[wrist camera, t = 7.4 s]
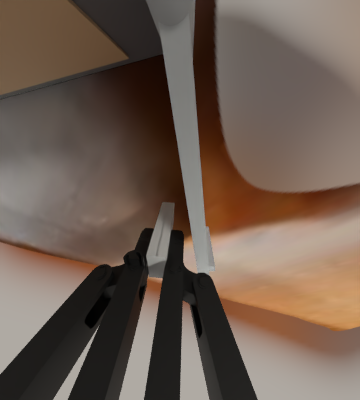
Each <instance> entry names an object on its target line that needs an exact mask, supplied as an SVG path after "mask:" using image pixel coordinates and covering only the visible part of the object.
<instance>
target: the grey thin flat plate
mask: <svg viewBox="0 0 360 400" xmlns="http://www.w3.org/2000/svg"><path fill="white" fill-rule="evenodd" d="M146 2H147V4H148V7H149V10H150V12H151V15H152V17H153V20H154V23H155V25H156V28H157V30H158V33H159V36H160V38H161V42H162V49H163V55H164V61H165V68H166V74H167V80H168V87H169V93H170V100H171V106H172V112H173V119H174V125H175V131H176V138H177V144H178V150H179V157H180V163H181V169H182V176H183V182H184V188H185V195H186V201H187V207H188V214H189V220H190V227H191V233H192V239H193V246H194V252H195V258H196V265H197V271H198V273H200V272H201V273H206V274H208V275H209V271H215V264H214V258H213V252H212V245H211V239H210V233H209V227H205V214H204V201H203V189H202V176H201V163H200V150H199V137H198V124H197V111H196V98H195V85H194V72H193V45H194V21H195V0H146Z"/></svg>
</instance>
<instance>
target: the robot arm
mask: <svg viewBox="0 0 360 400" xmlns="http://www.w3.org/2000/svg"><path fill="white" fill-rule="evenodd" d="M174 207H175V203H170V202H162V205H161V208H160V211H159V215H158V218H157V221H156V225H155V228H154V229H152V228H145V229H144V230H143V231H142V232H141V235H140V238H139V240H138V242H137V245H136V247H135V250H132V251H130V252H128V253H127V254H126V255H125V256H124V257H123V259H124V262H125V264H123V265H120V266H115V267H111V266H109V265H107V264H103V265H100V266H98V267H96V268H95V269H94V270H93V271H92V272H91V273H90V274H89V275H88V276H87V278H86V279H85V280H84V281H83V282H82V283H81V284H80V285H79V287H78V288H77V289H76V290H75V291H74V292H73V293H72V294H71V295H70V297H69V298H68V299H67V300H66V301H65V302H64V303H63V304H62V306H61V307H60V308H59V309H58V310H57V311H56V313H54V315H53V316H52V317H51V318H50V319H49V320H48V321H47V322H46V324H45V325H44V326H43V327H42V328H41V329H40V330H39V331H38V333H37V334H36V335H35V336H34V337H33V338H32V339H31V341H30V342H29V343H28V344H27V345H26V346H25V347H24V348H23V349H22V351H21V352H20V353H19V354H18V355H17V356H16V357H15V358H14V360H13V361H12V362H11V363H10V364H9V365H8V366H7V368H6V369H5V370H4V371H3V372H2V373H1V374H0V400H53V399H54V397H55V395H56V394H57V392H58V390H59V389H60V387H61V386H62V384H63V383H64V381H65V379H66V378H67V376H68V374H69V373H70V371H71V370H72V368H73V366H74V365H75V363H76V361H77V360H78V358H79V357H80V355H81V353H82V352H83V350H84V349H85V347H86V345H87V344H88V342H89V341H90V339H91V337H92V336H93V334H94V333H95V331H96V329H97V328H98V326H99V328H98V330H97V332H96V335H95V337H94V339H93V342H92V344H91V347H90V349H89V351H88V353H87V356H86V358H85V361H84V363H83V366H82V367H81V370H80V372H79V375H78V377H77V379H76V381H75V384H74V386H73V388H72V391H71V393H70V396H69V398H68V400H119V396H120V392H121V388H122V384H123V380H124V376H125V372H126V368H127V364H128V359H129V356H130V352H131V348H132V344H133V339H134V336H135V331H136V327H137V323H138V319H139V315H140V311H141V307H142V303H143V299H144V295H145V291H146V287H147V278H148V274H149V277H156V278H163V280H162V287H161V294H160V300H159V306H158V313H157V319H156V326H155V333H154V339H153V345H152V352H151V358H150V365H149V371H148V378H147V384H146V391H145V397H144V400H180V372H181V370H180V369H181V336H182V301H185V302H188V303H189V304H190V308H191V313H192V318H193V323H194V328H195V333H196V337H197V341H198V347H199V352H200V356H201V361H202V366H203V370H204V375H205V380H206V385H207V390H208V395H209V399H210V400H258V399H257V397H256V394H255V391H254V389H253V386H252V384H251V381H250V378H249V376H248V373H247V370H246V368H245V365H244V363H243V360H242V357H241V354H240V352H239V349H238V346H237V344H236V341H235V338H234V336H233V333H232V330H231V328H230V325H229V323H228V320H227V317H226V315H225V312H224V309H223V307H222V304H221V301H220V299H219V296H218V293H217V291H216V288H215V285H214V283H213V280H212V279H211V277H210V276H209V275H208V274H206V273H201V272H200V273H197V274H195V273H193V272H191V271H189V270H188V269H187V268H186V267H185V266H184V263H183V249H184V234H183V232H182V231H179V230H173V223H174Z"/></svg>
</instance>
